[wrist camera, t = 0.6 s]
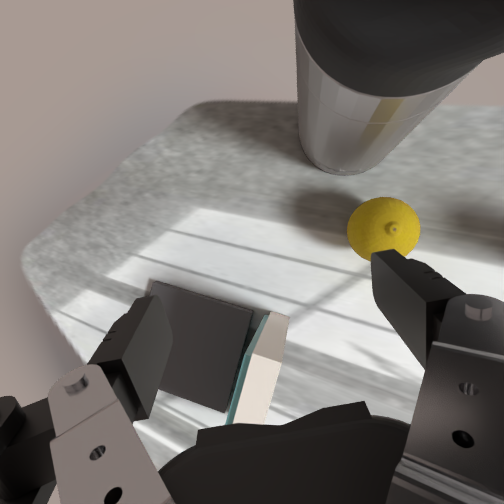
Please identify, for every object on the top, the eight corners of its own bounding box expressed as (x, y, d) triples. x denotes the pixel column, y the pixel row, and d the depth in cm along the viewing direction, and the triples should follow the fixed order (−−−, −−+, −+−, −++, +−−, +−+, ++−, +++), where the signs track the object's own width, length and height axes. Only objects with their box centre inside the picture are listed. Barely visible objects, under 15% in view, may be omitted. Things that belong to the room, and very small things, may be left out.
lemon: (332, 217, 31) (342, 210, 23) (386, 193, 30) (416, 177, 22) (356, 268, 31) (374, 279, 23) (411, 245, 30) (449, 248, 22)
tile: (266, 309, 33) (245, 350, 21) (289, 317, 32) (281, 363, 20) (236, 416, 34) (200, 512, 22) (258, 424, 33) (234, 527, 21)
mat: (157, 280, 34) (152, 282, 33) (253, 310, 33) (251, 313, 32) (134, 374, 35) (129, 378, 34) (226, 408, 34) (224, 413, 33)
